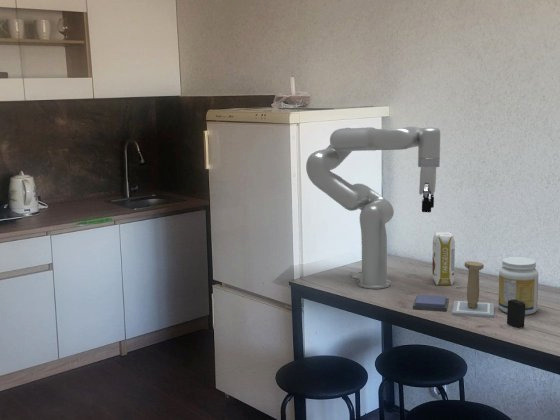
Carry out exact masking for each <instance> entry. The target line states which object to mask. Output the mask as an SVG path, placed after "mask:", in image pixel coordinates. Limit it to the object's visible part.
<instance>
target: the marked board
mask: <svg viewBox="0 0 560 420" xmlns="http://www.w3.org/2000/svg"><path fill="white" fill-rule="evenodd" d="M467 303H468V302H467V300H454V302H453V307H452V310H451V311H452V312H451V315H452V316H464V317H465V316H466V317H479V318H494V317H495V308H494V307H495V303H494V302H485V301H483V302H482V301H478V303H477V304H478V307H477V308H469V307H468V304H467Z"/></svg>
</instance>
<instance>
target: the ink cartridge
mask: <svg viewBox="0 0 560 420" xmlns="http://www.w3.org/2000/svg"><path fill="white" fill-rule="evenodd" d="M506 315H507V316H506V324H507V326H511V327H513V328H515V329H518V330H519V329H522V328H525V319H526V317H525V316H526V315H525V303H524V302H521V301H518V300H514V299H512V300H508V310H507V314H506Z"/></svg>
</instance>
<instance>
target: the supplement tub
mask: <svg viewBox="0 0 560 420" xmlns="http://www.w3.org/2000/svg"><path fill="white" fill-rule="evenodd" d="M501 266H502V267H500V269H499V271H498V277H499V278H498V308H499V309H500V311H501V312H504V313H507V310H508V300H512V299H514V300H518V301H521V302H524V303H525V316H526V315H532V314H534V313H536V312H537V309H538V297H539V276H540V275H539V271H538V270H537V269H536V267H537V261H536V260H535V259H533V258H529V257H524V256H510V257H505V258H503V259H502V263H501Z"/></svg>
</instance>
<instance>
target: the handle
mask: <svg viewBox="0 0 560 420" xmlns="http://www.w3.org/2000/svg"><path fill="white" fill-rule="evenodd" d="M464 267H465V268H466V269H467V270H468V273H467V274H468V276H467V286H466V287H467V288H466V301H467V302H468V303H467V304H468V307H469V308H477V307H478V304H477V303H478V302H479V300H480V299H479V298H480V271H481V270H483V269H484V263H482V262H478V261H474V260H473V261H472V260H469V261H464Z"/></svg>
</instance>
